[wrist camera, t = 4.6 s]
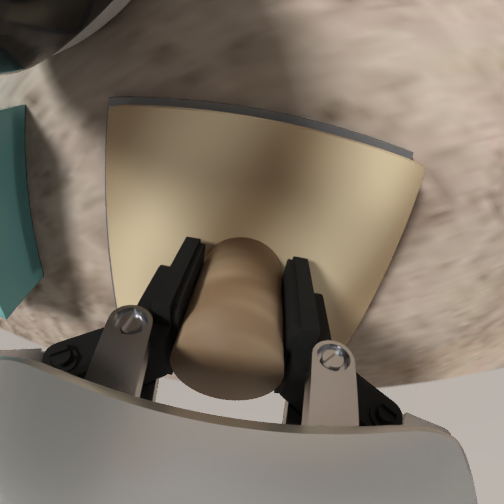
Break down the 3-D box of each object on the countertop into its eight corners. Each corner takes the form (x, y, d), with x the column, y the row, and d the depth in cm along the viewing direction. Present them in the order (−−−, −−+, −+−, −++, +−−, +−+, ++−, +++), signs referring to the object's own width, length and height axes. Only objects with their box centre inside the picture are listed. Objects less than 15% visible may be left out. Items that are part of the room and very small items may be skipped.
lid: (413, 160, 10) (511, 224, 5) (327, 358, 16) (338, 451, 11) (123, 104, 10) (9, 129, 4) (129, 322, 16) (89, 407, 10)
